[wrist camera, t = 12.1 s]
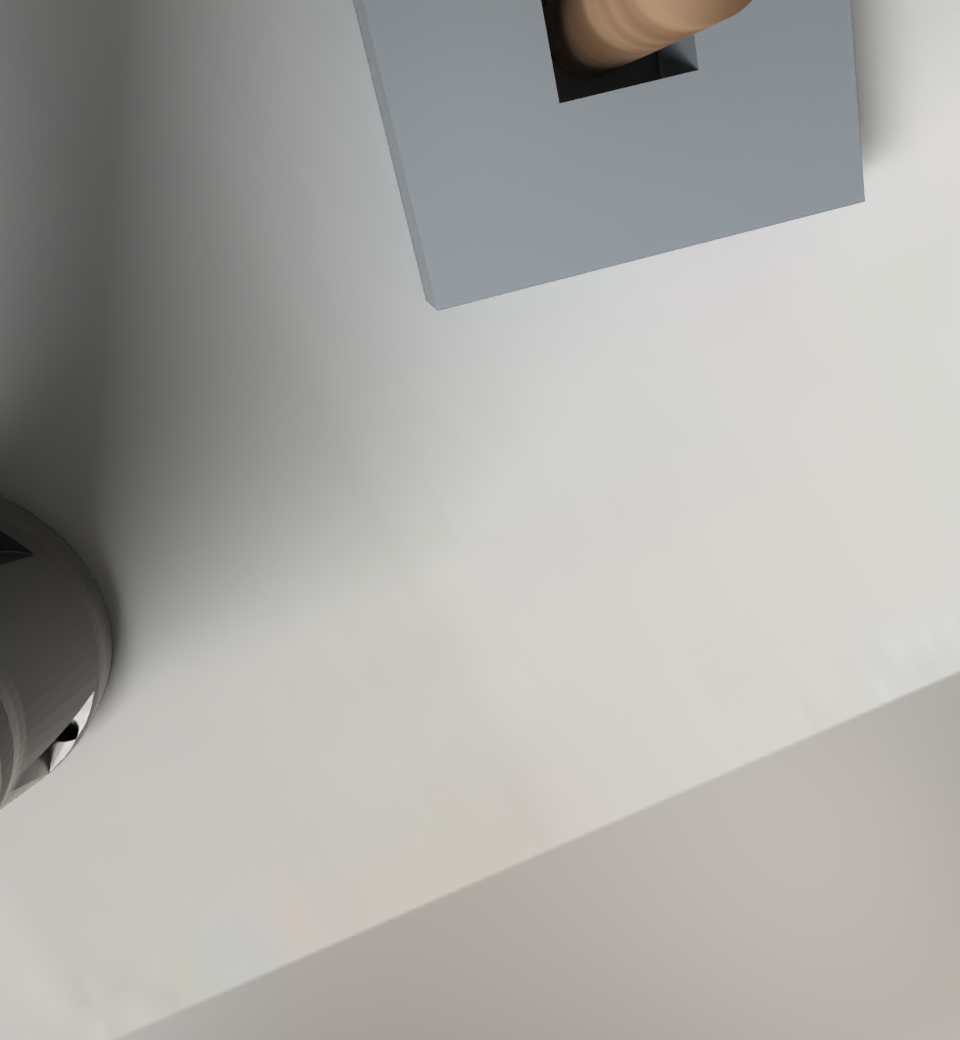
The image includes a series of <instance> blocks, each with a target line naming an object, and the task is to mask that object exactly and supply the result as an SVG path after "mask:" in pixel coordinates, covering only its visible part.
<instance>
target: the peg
mask: <svg viewBox="0 0 960 1040" xmlns="http://www.w3.org/2000/svg"><path fill="white" fill-rule="evenodd" d="M751 1H752V0H547V2H546V6H545V10H544V20H545V25H546V31H547V37H548V42H549V48H550V51H551V53H552V55H553V56H554V58H555V59H556V60H557V61H558V63H559V64H561V65H562V66H563V67H564V68H565V69H567V70H568V71H570V72H572V73H574V74H577V75H580V76H585V77H596V76H601V75H604V74H607V73H609V72H611V71H614V70H616V69H618V68H620V67H622V66H625V65H627V64H629V63H631V62H633V61H635V60H638V59H640V58H642V57H644V56H646V55H649V54H651V53H653V52H655V51H657V50H660V49H662V48H664V47H666V46H668V45H671V44H673V43H675V42H677V41H679V40H682V39H684V38H686V37H688V36H690V35H693V34H695V33H697V32H699V31H701V30H704V29H706V28H708V27H710V26H712V25H715V24H717V23H719V22H721V21H723V20H726V19H728V18H730V17H732V16H734V15H736V14H737V13H739V12H740V11H741V10H743V9H744V8H745V7H746V6H747V5H748V4H749V3H750V2H751Z"/></svg>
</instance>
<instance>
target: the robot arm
mask: <svg viewBox="0 0 960 1040" xmlns="http://www.w3.org/2000/svg"><path fill="white" fill-rule="evenodd" d="M111 661H112V634H111V626H110V621H109V616H108V613H107V609H106V606H105V603H104V600H103V598H102V595H101V593H100V591H99V589H98V586H97V584H96V582H95V581H94V579H93V577H92V575H91V574H90V572H89V571H88V569H87V568H86V566H85V565H84V563H83V562H82V560H81V559H80V558H79V557H78V555H77V554H76V553H75V552H74V551H73V549H72V548H71V547H70V546H69V545H68V544H67V543H66V542H65V541H64V540H63V539H62V538H61V537H60V536H59V535H58V534H57V533H56V532H54V531H53V530H52V529H51V528H50V527H48V526H47V525H46V524H45V523H43V522H42V521H41V520H39V519H38V518H36V517H35V516H33V515H32V514H30V513H29V512H27V511H26V510H24V509H22V508H20V507H19V506H17V505H15V504H13V503H11V502H9V501H7V500H5V499H3V498H1V497H0V809H2V808H3V807H4V806H6V805H7V804H8V803H10V802H11V801H12V800H14V799H15V798H17V797H18V796H19V795H21V794H22V793H23V792H25V791H26V790H27V789H29V788H30V787H31V786H33V785H34V784H35V783H37V782H38V781H40V780H41V779H42V778H44V777H45V776H46V775H47V774H49V773H50V772H51V771H52V770H53V769H55V768H56V767H57V766H58V765H59V764H60V763H61V762H62V761H63V760H64V759H65V758H66V757H67V756H68V754H69V753H70V752H71V751H72V749H73V748H74V747H75V746H76V744H77V743H78V742H79V740H80V739H81V737H82V736H83V734H84V733H85V731H86V729H87V728H88V726H89V724H90V722H91V720H92V718H93V715H94V713H95V711H96V709H97V707H98V704H99V702H100V700H101V698H102V695H103V693H104V690H105V687H106V685H107V681H108V677H109V673H110V668H111Z"/></svg>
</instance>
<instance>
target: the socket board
mask: <svg viewBox="0 0 960 1040" xmlns="http://www.w3.org/2000/svg"><path fill="white" fill-rule="evenodd" d="M353 1H354V5H355V9H356V14H357V18H358V22H359V26H360V30H361V34H362V38H363V42H364V46H365V50H366V54H367V59H368V63H369V67H370V71H371V75H372V79H373V83H374V87H375V91H376V95H377V100H378V104H379V108H380V112H381V116H382V120H383V124H384V128H385V132H386V136H387V140H388V145H389V149H390V153H391V157H392V161H393V165H394V169H395V173H396V177H397V181H398V185H399V190H400V194H401V198H402V202H403V206H404V210H405V214H406V218H407V222H408V226H409V231H410V235H411V239H412V243H413V247H414V251H415V255H416V259H417V263H418V267H419V271H420V276H421V280H422V284H423V288H424V292H425V296H426V300H427V301H428V302H429V303H430V304H431V305H432V306H433V307H434V308H435V309H436V310H437V311H439V310H443V309H446V308H450V307H454V306H458V305H462V304H466V303H470V302H474V301H478V300H482V299H486V298H489V297H493V296H497V295H501V294H505V293H509V292H513V291H517V290H521V289H525V288H528V287H532V286H536V285H540V284H544V283H548V282H552V281H556V280H560V279H564V278H568V277H571V276H575V275H579V274H583V273H587V272H591V271H595V270H599V269H603V268H607V267H610V266H614V265H618V264H622V263H626V262H630V261H634V260H638V259H642V258H646V257H650V256H653V255H657V254H661V253H665V252H669V251H673V250H677V249H681V248H685V247H689V246H692V245H696V244H700V243H704V242H708V241H712V240H716V239H720V238H724V237H728V236H732V235H735V234H739V233H743V232H747V231H751V230H755V229H759V228H763V227H767V226H771V225H774V224H778V223H782V222H786V221H790V220H794V219H798V218H802V217H806V216H810V215H814V214H817V213H821V212H825V211H829V210H833V209H837V208H841V207H845V206H849V205H853V204H856V203H860V202H864V201H865V197H864V183H863V169H862V155H861V141H860V128H859V114H858V100H857V86H856V72H855V58H854V44H853V30H852V16H851V2H850V0H752V1H751V2H750V3H749V4H748V5H747V6H746V7H745V8H744V9H743V10H741V11H740V12H739V13H737V14H736V15H734V16H732V17H730V18H728V19H726V20H723V21H721V22H719V23H717V24H715V25H712V26H710V27H708V28H706V29H704V30H701V31H699V32H697V33H695V34H693V35H690V36H688V37H686V38H684V39H682V40H679V41H677V42H675V43H673V44H671V45H668V46H666V47H664V48H662V49H660V50H657V53H658V60H659V67H660V74H661V79H659V80H655V81H651V82H646V83H642V84H638V85H634V86H630V87H626V88H622V89H617V90H613V91H609V92H605V93H601V94H597V95H593V96H588V97H584V98H580V99H576V100H572V101H568V102H563V103H559V98H558V92H557V87H556V81H555V76H554V70H553V65H552V59H551V53H550V48H549V42H548V37H547V31H546V25H545V20H544V14H543V9H542V3H541V0H353Z"/></svg>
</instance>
